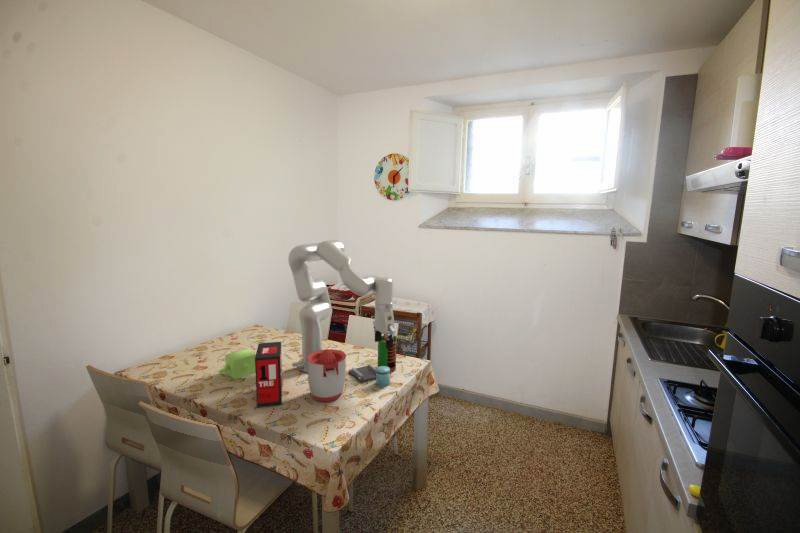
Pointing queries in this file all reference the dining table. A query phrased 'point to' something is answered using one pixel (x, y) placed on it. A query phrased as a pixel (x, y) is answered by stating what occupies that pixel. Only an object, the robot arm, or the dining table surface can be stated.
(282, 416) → the dining table surface
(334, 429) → the dining table surface
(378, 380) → the blue lidded jar
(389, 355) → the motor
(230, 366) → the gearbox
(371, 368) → the mount plate
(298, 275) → the robot arm
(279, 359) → the cleaning product box
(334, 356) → the citrus juicer
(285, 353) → the dining table surface
